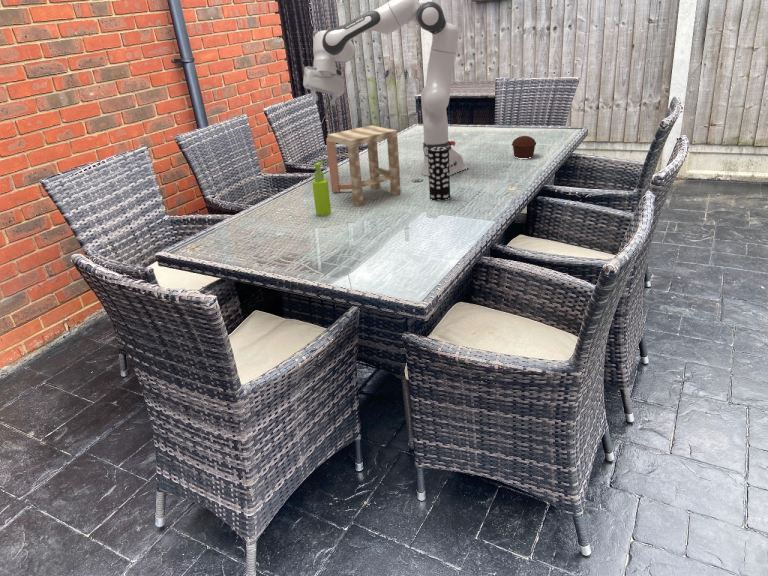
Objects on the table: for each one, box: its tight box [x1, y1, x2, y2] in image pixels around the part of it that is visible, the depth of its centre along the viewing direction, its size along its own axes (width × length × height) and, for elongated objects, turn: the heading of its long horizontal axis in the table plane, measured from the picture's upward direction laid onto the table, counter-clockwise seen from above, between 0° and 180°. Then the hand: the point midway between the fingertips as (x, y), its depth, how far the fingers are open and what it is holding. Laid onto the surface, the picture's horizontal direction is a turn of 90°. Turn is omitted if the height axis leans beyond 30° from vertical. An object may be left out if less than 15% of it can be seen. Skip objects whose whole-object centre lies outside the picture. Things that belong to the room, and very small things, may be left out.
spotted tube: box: [428, 146, 451, 201], centre depth 234 cm, size 8×8×20 cm
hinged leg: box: [325, 137, 352, 193], centre depth 250 cm, size 13×3×23 cm, turn 81°
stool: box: [326, 125, 402, 207], centre depth 242 cm, size 22×18×26 cm
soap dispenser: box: [311, 161, 332, 217], centre depth 228 cm, size 6×7×20 cm
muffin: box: [511, 135, 537, 158], centre depth 284 cm, size 12×11×10 cm
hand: (324, 102), depth 255 cm, fingers open, 8 cm apart
